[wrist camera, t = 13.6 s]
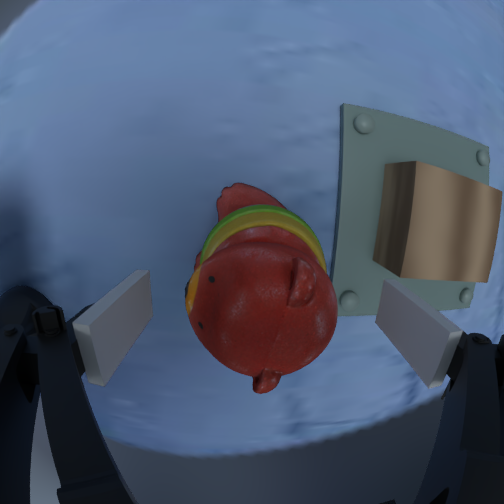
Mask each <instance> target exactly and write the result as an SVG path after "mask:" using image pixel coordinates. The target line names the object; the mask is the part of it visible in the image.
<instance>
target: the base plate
mask: <svg viewBox="0 0 504 504" xmlns="http://www.w3.org/2000/svg"><path fill="white" fill-rule="evenodd" d="M408 161H419V162H423V163H426V164H429V165H433V166H436V167H439V168H442V169H445V170H448V171H451V172H454V173H456V174H459V175H462V176H465V177H467V178H470V179H473V180H475V181H478V182H480V183H483V184H485V185H488V186H489V163H490V157H489V147H488V146H485V145H483V144H481V143H478V142H476V141H474V140H471V139H469V138H466V137H464V136H461V135H458V134H456V133H453V132H450V131H447V130H445V129H442V128H439V127H436V126H433V125H430V124H427V123H423V122H420V121H417V120H413V119H410V118H406V117H403V116H399V115H395V114H391V113H387V112H383V111H379V110H374V109H370V108H365V107H360V106H355V105H350V104H344V103H343V104H342V105H341V106H340V165H339V186H338V202H337V215H336V227H335V238H334V248H333V257H332V266H331V274H330V280H331V282H332V285H333V287H334V290H335V293H336V298H337V304H338V315H337V316H365V315H377V312H378V307H379V302H380V297H381V292H382V287H383V281H384V279H395V280H397V281H398V282H399V283H401V284H402V285H403V286H405V287H406V288H408V289H409V290H410V291H412V292H413V293H414V294H416V295H417V296H419V297H420V298H421V299H423V300H424V301H425V302H427V303H428V304H429V305H431V306H432V307H433V308H435V309H436V310H437V311H442V310H452V309H462V308H469V307H470V303H471V300H472V298H473V292H474V288H475V283H476V282H464V281H445V280H427V279H410V278H399V277H398V276H396V275H395V274H393V273H392V272H390V271H389V270H387V269H386V268H384V267H382V266H381V265H379V264H378V263H376V262H375V261H373V260H372V259H373V254H374V248H375V242H376V236H377V229H378V222H379V215H380V208H381V199H382V190H383V180H384V169H385V164H389V163H398V162H408Z"/></svg>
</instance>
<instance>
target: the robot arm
mask: <svg viewBox="0 0 504 504" xmlns="http://www.w3.org/2000/svg"><path fill="white" fill-rule="evenodd" d="M152 317H153V310H152V299H151V286H150V271H149V270H136V271H135V272H133V273H132V274H131V275H129V276H128V277H127V278H126V279H124V280H123V281H122V282H121V283H119V284H118V285H117V286H116V287H114V288H113V289H112V290H111V291H109V292H108V293H107V294H106V295H105V296H103V297H102V298H101V299H100V300H98V301H97V302H96V303H93V304H91V305H89V306H86V307H85V308H83V309H82V310H81V311H80V312H79V313H77V314H76V315H75V317H73V318H71V319H70V320H69V321H68V322H67V323H65V319H64V314H63V310H62V308H61V307H59V306H54V305H52V304H51V303H50V302H49V301H48V300H47V299H46V298H45V297H44V296H43V295H41V294H40V293H39V292H37V291H36V290H34V289H32V288H30V287H27V286H16V287H14V288H12V289H10V290H8V291H6V292H5V293H4V294H3V295H2V296H1V297H0V504H30V467H31V452H32V442H33V433H34V425H35V419H36V412H37V407H38V401H39V396H40V392H41V399H42V406H43V412H44V419H45V424H46V429H47V434H48V439H49V443H50V447H51V452H52V456H53V459H54V463H55V467H56V470H57V473H58V476H59V479H60V483H61V488H59V489H57V496H58V500H59V503H60V504H138V502H137V501H136V499H135V497H134V496H133V494H132V492H131V491H130V489H129V488H128V485H127V484H126V482H125V480H124V478H123V476H122V475H121V473H120V471H119V469H118V467H117V465H116V463H115V461H114V459H113V457H112V455H111V453H110V451H109V449H108V447H107V444H106V442H105V440H104V438H103V436H102V433H101V431H100V429H99V426H98V424H97V421H96V419H95V416H94V414H93V411H92V408H91V406H90V403H89V400H88V397H87V394H86V391H85V388H84V385H83V382H82V379H81V376H82V375H83V373H84V372H86V375H87V378H88V381H89V383H92V384H96V385H100V386H104V387H105V386H106V384H107V383H108V381H109V379H110V378H111V376H112V375H113V373H114V372H115V370H116V369H117V367H118V366H119V364H120V363H121V362H122V360H123V359H124V357H125V356H126V354H127V353H128V351H129V350H130V348H131V347H132V345H133V344H134V342H135V341H136V340H137V338H138V337H139V335H140V334H141V332H142V331H143V330H144V328H145V327H146V325H147V324H148V322H149V321H150V320H151V318H152ZM375 323H376V324H377V325H378V326H379V328H380V329H381V330H382V331H383V332H384V334H385V335H386V336H387V337H388V338H389V340H390V341H391V342H392V343H393V344H394V346H395V347H396V348H397V349H398V351H399V352H400V353H401V354H402V355H403V357H404V358H405V359H406V360H407V362H408V363H409V364H410V365H411V367H412V368H413V369H414V371H415V372H416V373H417V374H418V376H419V377H420V378H421V379H422V381H423V382H424V383H425V385H426V386H427V387H428V388H433V387H437V386H441V385H442V383H443V380H444V378H445V376H446V374H447V375H448V376H449V377H450V378H451V379H450V381H449V383H448V385H447V387H446V389H445V392H444V394H443V396H442V398H441V399H443V398H444V397H445V401H444V406H443V411H442V416H441V420H440V425H439V429H438V433H437V437H436V440H435V444H434V448H433V451H432V454H431V457H430V461H429V464H428V466H427V469H426V472H425V475H424V478H423V481H422V484H421V486H420V488H419V491H418V493H417V496H416V499H415V500H414V502H413V504H504V334H503V335H502V336H501V339H500V342H499V344H492V342H491V340H490V339H489V338H488V337H486V336H484V335H483V334H479V333H470V334H468V335H467V334H466V333H465V332H464V331H463V330H462V329H460V328H459V327H458V326H457V325H455V324H454V323H453V322H451V321H450V320H449V319H448V318H446V317H445V316H444V315H442V314H441V313H440V312H439V311H437V310H436V309H435V308H433V307H432V306H431V305H429V304H428V303H427V302H425V301H424V300H423V299H421V298H420V297H419V296H417V295H416V294H414V293H413V292H412V291H410V290H409V289H408V288H406V287H405V286H403V285H402V284H401V283H399V282H398V281H397V280H395V279H384V281H383V287H382V292H381V297H380V302H379V307H378V312H377V316H376V321H375ZM380 504H396V503H395V500H391V501H387V502H384V503H380Z"/></svg>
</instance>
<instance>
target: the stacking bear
mask: <svg viewBox="0 0 504 504" xmlns="http://www.w3.org/2000/svg"><path fill="white" fill-rule="evenodd" d="M217 210H218V218H219V221H218V224H217V225H216V226H215V227H214V228H213V229H212V231H211V232H210V234H209V235H208V237H207V239H206V241H205V243H204V246H203V249H202V251H200V253H199V254H198V255H197V257H196V264H195V266H194V271H195V272H194V273H193V274H192V276H191V278H190V280H189V282H188V283H187V285H186V288H185V304H186V310H187V313H188V316H189V320H190V323H191V325H192V328H193V330H194V332H195V334H196V335H197V337H198V339H199V340H200V341H201V343H202V344H203V345H204V346H205V348H206V349H207V350H208V351H209V352H210V353H211V354H212V355H213V356H214V357H215V358H216V359H217V360H218V361H219V362H221V363H222V364H223V365H225V366H226V367H228V368H230V369H232V370H233V371H236V372H238V373H241V374H244V375H248V376H252V377H253V391H254V392H256V393H259V394H262V393H267V392H269V391H271V390H273V389H274V388H275V387H276V386H277V384H278V383H279V381H280V378H281V376H282V375H286V374H290V373H292V372H295V371H297V370H299V369H301V368H303V367H304V366H306V365H308V364H309V363H311V362H312V361H313V360H314V359H316V358H317V357H318V356H319V355H320V354H321V353H322V352H323V350H324V349H325V348H326V347H327V345H328V344H329V342H330V340H331V338H332V336H333V334H334V331H335V327H336V323H337V315H338V304H337V298H336V293H335V290H334V287H333V285H332V282H331V280H330V278H329V277H328V275H327V271H326V263H325V259H324V254H323V251H322V248H321V245H320V243H319V240H318V239H317V237H316V235H315V234H314V232H313V231H312V229H311V228H310V227H309V226H308V225H307V223H306V222H305V221H303V220H302V219H301V218H300V217H299V216H297V215H296V214H294V213H292V212H291V211H288V210H287V209H286V208H285V207H284V206H283V205H282V204H281V203H280V202H279V201H278V200H276V199H275V198H274V197H272V196H271V195H269V194H268V193H266V192H264V191H262V190H260V189H258V188H256V187H253V186H250V185H247V184H244V183H234V184H233V185H232V187H225V188H224V189H223V190H222V196H221V197H219V198H218V199H217Z"/></svg>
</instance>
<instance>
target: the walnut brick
mask: <svg viewBox="0 0 504 504" xmlns="http://www.w3.org/2000/svg"><path fill="white" fill-rule="evenodd" d="M501 202H502V191H500V190H497V189H495V188H493V187H490V186H488V185H485V184H483V183H480V182H478V181H475V180H473V179H470V178H467V177H465V176H462V175H459V174H456V173H454V172H451V171H448V170H445V169H442V168H439V167H436V166H433V165H429V164H426V163H423V162H419V161H408V162H398V163H389V164H385V169H384V180H383V190H382V199H381V208H380V215H379V222H378V229H377V236H376V242H375V248H374V254H373V259H372V260H373V261H375V262H376V263H378V264H379V265H381V266H382V267H384V268H386V269H387V270H389V271H390V272H392V273H393V274H395V275H396V276H398V277H399V278H410V279H427V280H445V281H464V282H484V283H487V282H488V278H489V274H490V270H491V265H492V261H493V256H494V251H495V246H496V240H497V234H498V227H499V220H500V212H501Z"/></svg>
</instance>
